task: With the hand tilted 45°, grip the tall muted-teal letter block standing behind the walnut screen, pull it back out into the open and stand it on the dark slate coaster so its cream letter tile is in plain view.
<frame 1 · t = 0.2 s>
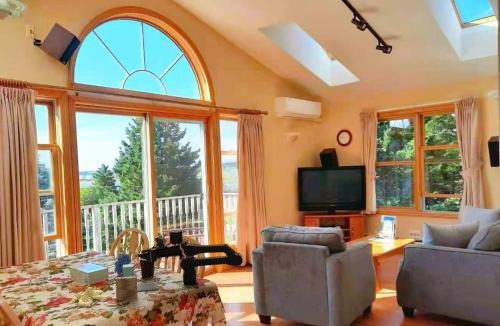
hand: (139, 253, 200), 16 cm above the table, tool horizontal, fingers open, 9 cm apart
slate coaster: (147, 287, 196), on the table
walnut screen: (126, 299, 181), on the table
coffee mug: (149, 275, 218), on the table
letter block: (128, 289, 194), on the table
grapes: (122, 274, 222), on the table
cloth: (86, 301, 182), on the table
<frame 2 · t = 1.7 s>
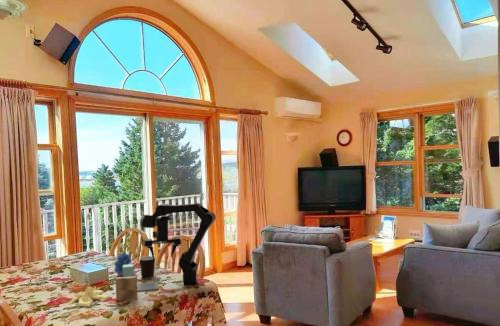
hand: (162, 258, 204), 13 cm above the table, tool pointing down, fingers open, 9 cm apart
nothing on the table moved.
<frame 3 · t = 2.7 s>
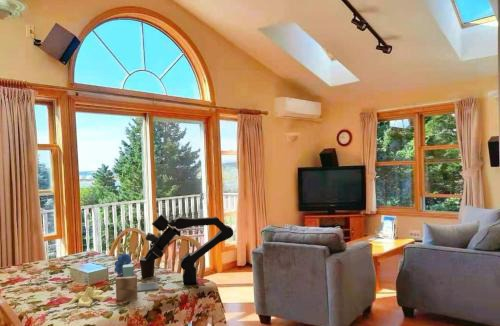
hand: (145, 261, 196), 13 cm above the table, tool tilted 45°, fingers open, 9 cm apart
nothing on the table moved.
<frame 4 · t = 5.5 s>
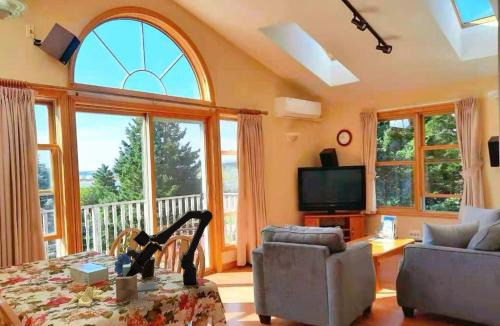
hand: (125, 276, 194), 7 cm above the table, tool tilted 45°, fingers closed on letter block, 5 cm apart
letter block: (128, 289, 194), on the table, touching gripper
everything else where it was.
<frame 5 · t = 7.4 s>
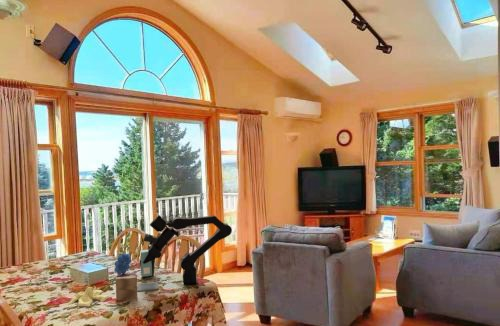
hand: (143, 262, 196), 13 cm above the table, tool tilted 45°, fingers closed on letter block, 5 cm apart
letter block: (146, 274, 196), point 7 cm above the table, touching gripper
everything else where it was.
when the fingers open (8 cm above the table, at t = 9.1 s): letter block stays where it is, resting on slate coaster.
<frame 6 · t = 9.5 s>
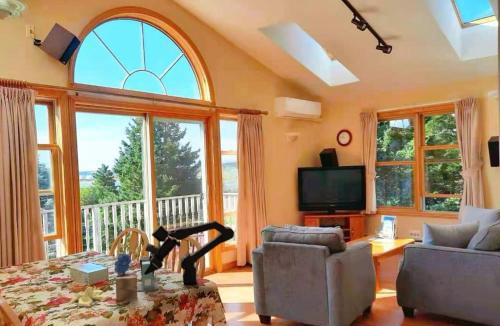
hand: (144, 271, 196), 8 cm above the table, tool tilted 45°, fingers open, 9 cm apart
letter block: (147, 286, 196), point 1 cm above the table, touching slate coaster
everything else where it was.
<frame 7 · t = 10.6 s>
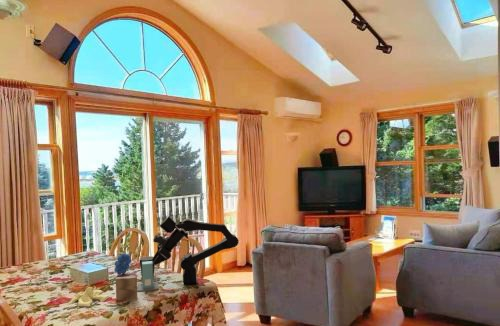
hand: (152, 262, 197), 12 cm above the table, tool tilted 45°, fingers open, 9 cm apart
nothing on the table moved.
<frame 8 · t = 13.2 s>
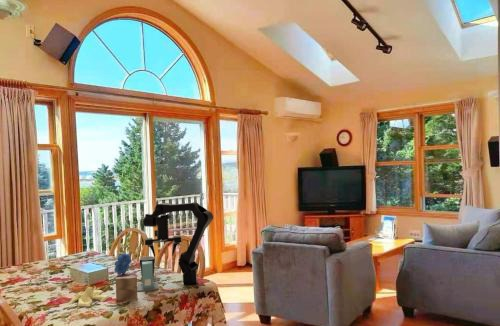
hand: (163, 256, 206), 13 cm above the table, tool pointing down, fingers open, 9 cm apart
nothing on the table moved.
at the end: letter block inside the target area on the slate coaster (0.0 cm from its centre), point 0.6 cm above the slate coaster's base; letter block tilted 0°; the gripper is holding nothing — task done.
